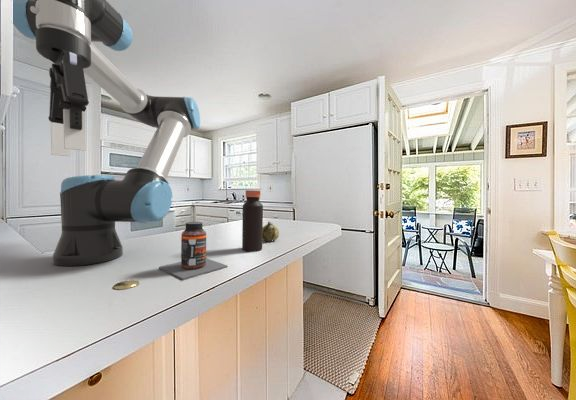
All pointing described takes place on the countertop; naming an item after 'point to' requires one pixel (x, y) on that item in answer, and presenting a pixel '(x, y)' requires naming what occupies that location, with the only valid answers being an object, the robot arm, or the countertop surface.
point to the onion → (270, 232)
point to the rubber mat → (189, 273)
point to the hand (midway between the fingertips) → (67, 153)
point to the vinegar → (252, 222)
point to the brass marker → (126, 284)
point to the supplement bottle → (193, 246)
